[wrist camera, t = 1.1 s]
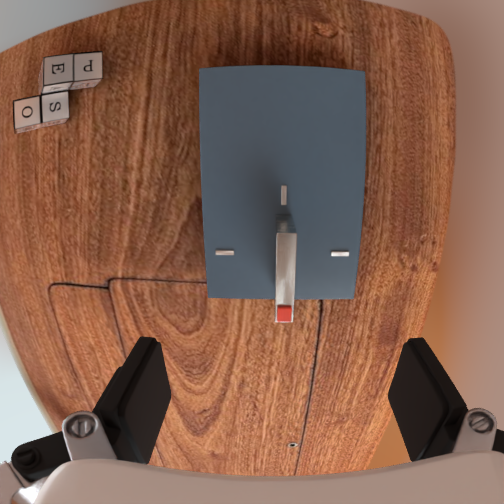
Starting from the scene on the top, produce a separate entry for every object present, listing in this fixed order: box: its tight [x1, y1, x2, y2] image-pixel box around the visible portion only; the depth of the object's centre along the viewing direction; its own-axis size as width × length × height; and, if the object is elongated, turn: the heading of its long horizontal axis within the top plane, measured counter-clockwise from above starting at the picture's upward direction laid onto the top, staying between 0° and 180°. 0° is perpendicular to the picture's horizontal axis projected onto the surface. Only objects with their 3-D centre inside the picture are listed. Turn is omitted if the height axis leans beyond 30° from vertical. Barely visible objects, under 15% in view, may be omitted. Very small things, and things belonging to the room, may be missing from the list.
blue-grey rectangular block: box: [199, 65, 366, 299], centre depth 24 cm, size 19×12×3 cm, turn 1°
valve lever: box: [274, 214, 297, 322], centre depth 21 cm, size 6×1×5 cm, turn 1°
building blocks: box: [13, 51, 103, 134], centre depth 20 cm, size 5×5×8 cm
